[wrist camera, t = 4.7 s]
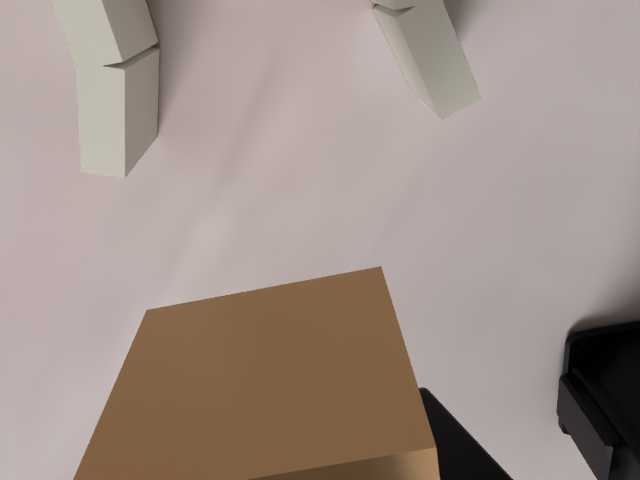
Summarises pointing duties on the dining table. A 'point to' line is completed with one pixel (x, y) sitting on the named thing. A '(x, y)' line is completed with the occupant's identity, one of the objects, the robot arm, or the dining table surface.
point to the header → (143, 71)
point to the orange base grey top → (268, 390)
